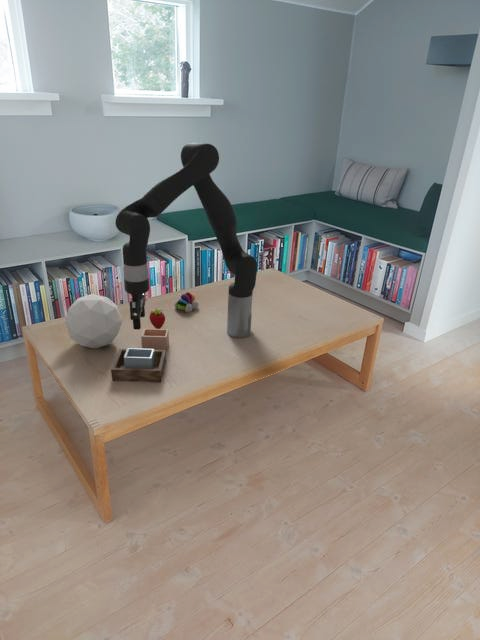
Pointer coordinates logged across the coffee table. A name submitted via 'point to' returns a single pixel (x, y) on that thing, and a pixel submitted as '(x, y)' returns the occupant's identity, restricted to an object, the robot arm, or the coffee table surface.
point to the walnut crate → (138, 374)
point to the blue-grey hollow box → (139, 358)
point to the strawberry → (157, 318)
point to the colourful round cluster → (186, 302)
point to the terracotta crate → (155, 339)
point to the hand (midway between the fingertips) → (139, 322)
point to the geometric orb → (93, 321)
